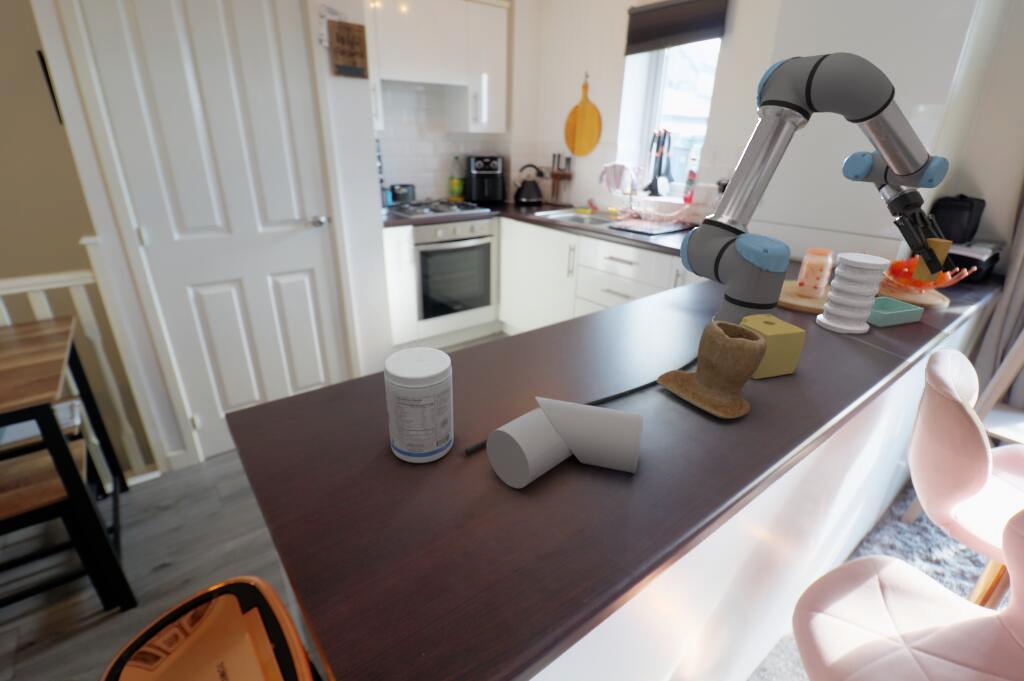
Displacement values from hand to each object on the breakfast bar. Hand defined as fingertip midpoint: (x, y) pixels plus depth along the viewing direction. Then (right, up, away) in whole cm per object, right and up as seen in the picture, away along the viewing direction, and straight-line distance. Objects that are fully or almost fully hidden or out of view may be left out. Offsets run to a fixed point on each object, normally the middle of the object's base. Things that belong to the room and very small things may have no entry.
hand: (943, 271), depth 127 cm
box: (-14, -12, +3) cm, 19 cm away
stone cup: (-79, -30, -39) cm, 93 cm away
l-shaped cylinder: (-106, -37, -57) cm, 125 cm away
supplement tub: (-128, -35, -54) cm, 143 cm away
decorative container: (-29, -15, -3) cm, 33 cm away
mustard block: (-1, -2, +5) cm, 5 cm away
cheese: (-63, -24, -25) cm, 72 cm away
